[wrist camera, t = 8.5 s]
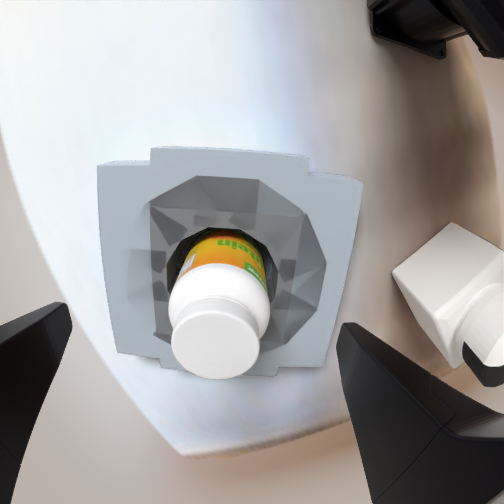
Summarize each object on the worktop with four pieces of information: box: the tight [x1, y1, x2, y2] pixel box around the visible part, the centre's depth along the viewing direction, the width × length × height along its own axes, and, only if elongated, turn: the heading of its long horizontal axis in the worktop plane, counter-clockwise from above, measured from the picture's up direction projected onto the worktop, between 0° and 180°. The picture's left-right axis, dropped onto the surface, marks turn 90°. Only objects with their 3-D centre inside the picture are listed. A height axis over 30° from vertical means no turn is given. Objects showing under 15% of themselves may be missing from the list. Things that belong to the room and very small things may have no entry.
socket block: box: [97, 146, 364, 376], centre depth 21 cm, size 16×16×3 cm
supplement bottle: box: [168, 228, 270, 380], centre depth 17 cm, size 5×5×10 cm
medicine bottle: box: [392, 222, 504, 387], centre depth 17 cm, size 7×7×12 cm
